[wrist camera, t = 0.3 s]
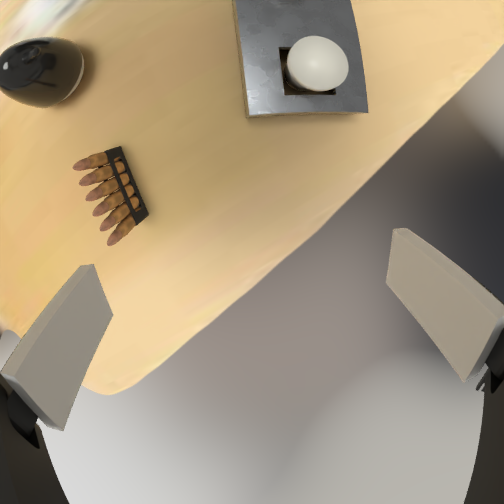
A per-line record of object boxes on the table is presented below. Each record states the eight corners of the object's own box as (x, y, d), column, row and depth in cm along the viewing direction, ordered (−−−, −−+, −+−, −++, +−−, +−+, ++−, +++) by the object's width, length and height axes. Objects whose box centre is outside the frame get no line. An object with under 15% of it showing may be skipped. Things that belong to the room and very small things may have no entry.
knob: (274, 53, 26) (285, 34, 19) (322, 53, 26) (344, 38, 20) (280, 98, 28) (293, 89, 22) (328, 97, 28) (351, 91, 22)
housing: (228, -27, 22) (228, -48, 16) (324, -24, 22) (337, -42, 17) (246, 118, 32) (249, 115, 27) (348, 114, 32) (368, 112, 27)
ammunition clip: (149, 214, 36) (118, 250, 26) (138, 219, 37) (105, 255, 26) (120, 145, 32) (76, 155, 21) (109, 151, 32) (63, 163, 21)
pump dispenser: (91, 102, 29) (24, 96, 15) (39, 113, 27) (-30, 119, 14) (100, 38, 24) (42, 7, 11) (46, 54, 23) (-17, 40, 10)
